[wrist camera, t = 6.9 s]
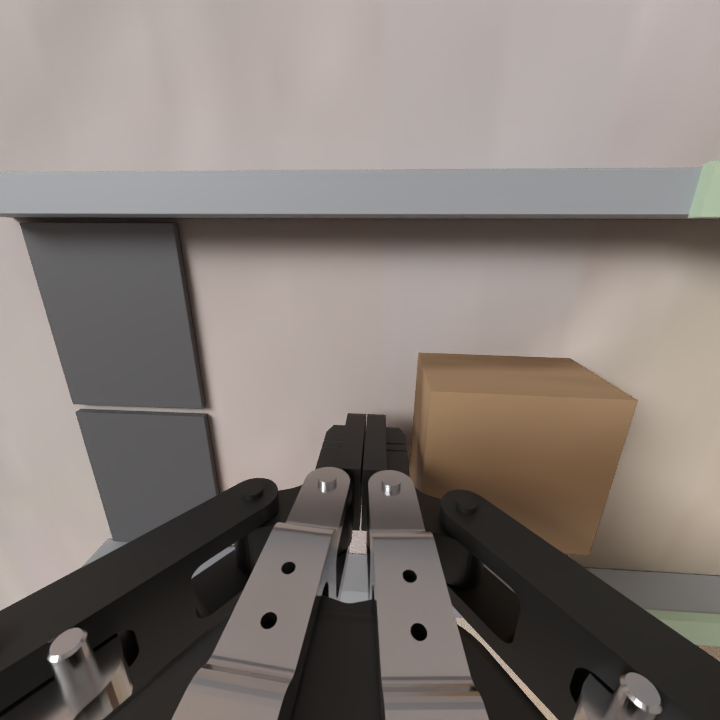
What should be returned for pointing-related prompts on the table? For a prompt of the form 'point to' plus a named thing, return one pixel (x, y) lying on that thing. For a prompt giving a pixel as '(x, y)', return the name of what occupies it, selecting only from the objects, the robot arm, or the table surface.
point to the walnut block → (521, 439)
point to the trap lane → (176, 333)
